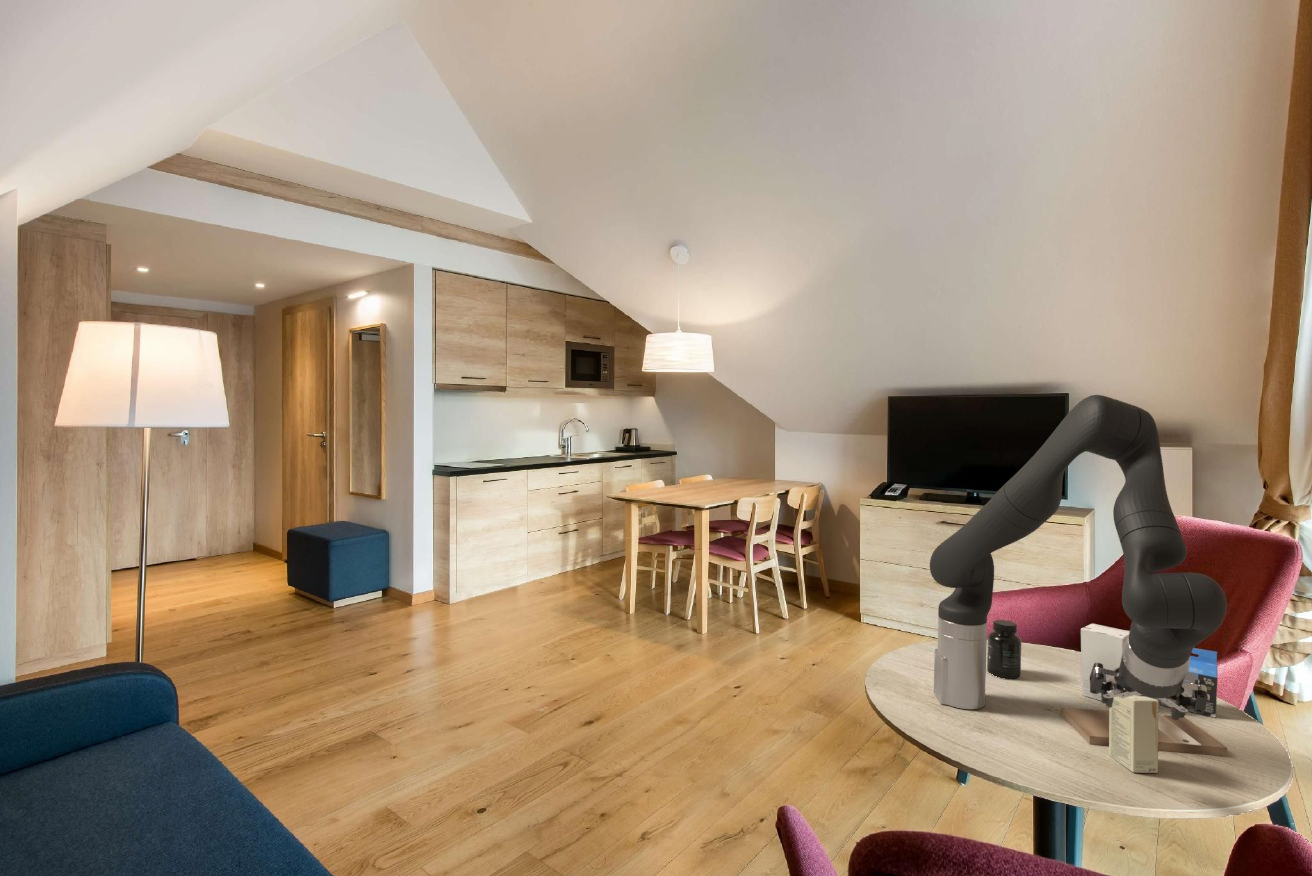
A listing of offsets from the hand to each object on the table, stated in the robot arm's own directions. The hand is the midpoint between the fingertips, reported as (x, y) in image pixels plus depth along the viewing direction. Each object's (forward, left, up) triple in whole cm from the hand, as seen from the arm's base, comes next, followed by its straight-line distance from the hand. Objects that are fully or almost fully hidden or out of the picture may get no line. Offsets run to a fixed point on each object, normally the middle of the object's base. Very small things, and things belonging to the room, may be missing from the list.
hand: (1140, 707), depth 105 cm
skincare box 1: (+12, +35, -13) cm, 39 cm away
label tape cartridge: (+26, +33, -13) cm, 44 cm away
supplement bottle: (-5, +45, -13) cm, 47 cm away
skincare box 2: (+3, +7, -13) cm, 15 cm away
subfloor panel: (+10, +19, -13) cm, 25 cm away
